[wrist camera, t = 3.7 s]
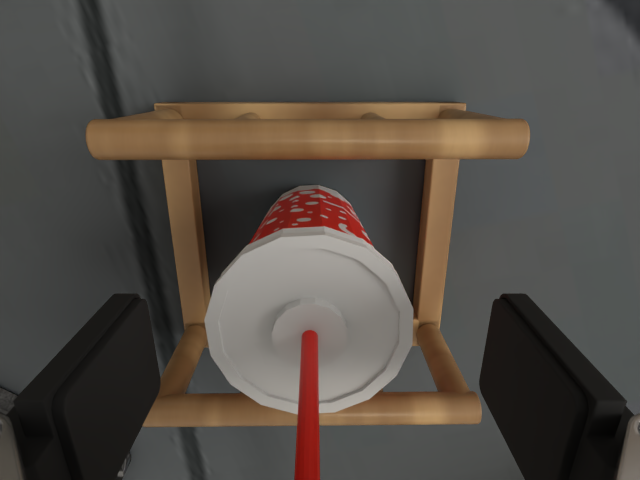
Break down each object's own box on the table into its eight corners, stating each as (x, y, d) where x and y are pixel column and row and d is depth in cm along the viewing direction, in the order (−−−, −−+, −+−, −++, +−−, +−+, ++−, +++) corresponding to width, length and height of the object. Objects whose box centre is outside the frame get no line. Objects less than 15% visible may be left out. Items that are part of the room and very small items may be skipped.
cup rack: (192, 335, 23) (143, 438, 16) (163, 101, 18) (79, 113, 12) (431, 333, 23) (479, 434, 16) (457, 101, 19) (535, 113, 12)
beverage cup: (385, 270, 21) (495, 568, 8) (270, 297, 22) (203, 619, 9) (359, 153, 19) (453, 307, 6) (232, 186, 20) (71, 393, 7)
